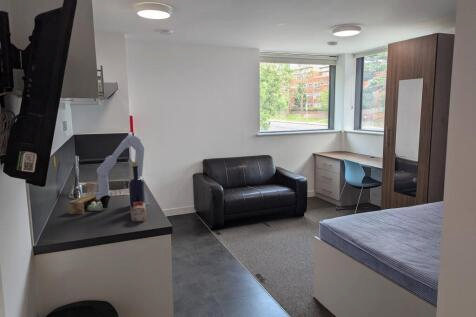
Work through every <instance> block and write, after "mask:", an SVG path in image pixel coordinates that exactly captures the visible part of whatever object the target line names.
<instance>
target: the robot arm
mask: <svg viewBox="0 0 476 317" xmlns="http://www.w3.org/2000/svg"><path fill="white" fill-rule="evenodd" d="M131 147H132V148H133V150H134V151H135V154H134V162H137V166H138V178H139V179H141V180H142V181H143V182H144V179H143V172H144V171H143V168H144V155H145V147H144V145H143V143H142V141H141V139H140V138H139V137H138V136H137V135H134V134H133V135H132V134H128V135H127V136H126V137H125V138H124V139H123V140H122V141H121V142H120V143H119V145H118V146H117V148H116V149H115V150H114V152H112V155H111V154H110V155H108V156H106V157H104V158H105V160H104V161H103V162H102V163H100V166H99V167H97V168H96V173H97V181H98V182H97V183H98V193H97V194H98V195H97V196H96V199H99V200H100V202H101V203H102V206H103V208H106V209H108V206H109V202H110V199H111V194H113V190H110V186H109V183H110V182H109V176H108V175H109V173H110V170H111V169H112V168H113V167H114V166H115V164H116V163H117V159H118V157H120V155H121V154H122V153H123V152H124V151H125V150H126V149H128V148H131ZM132 179H134V177H133V176H132ZM144 194H145V204H146V206H147V205H150V203H149V197H148V196H149V195H148V193H147V192H146V191H144Z"/></svg>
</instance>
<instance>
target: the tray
mask: <svg viewBox="0 0 476 317" xmlns="http://www.w3.org/2000/svg"><path fill="white" fill-rule="evenodd" d="M86 207H87V211H94V212H95V211H97V212H103V211H104V210H106V209H107V208H103V206H102V204H101V202H97V204H96V202H91V205H88V206H86Z"/></svg>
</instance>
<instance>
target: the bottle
mask: <svg viewBox="0 0 476 317" xmlns="http://www.w3.org/2000/svg"><path fill="white" fill-rule="evenodd" d="M131 168H132V173H133V174H132V175H133V176H132V179H130V180H129V182H128V183H127V184H128V196H129V210H130V212H129V213H130V214H131V207H132V209H133V206H134V203H135V202H139V201H140V202H144V203H145V194H144V192H145V183H144V180H143V181H142V180H141V179H139V178H138V166H137V162H135V161H132V166H131ZM133 177H134V179H133Z"/></svg>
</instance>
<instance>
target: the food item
mask: <svg viewBox="0 0 476 317" xmlns="http://www.w3.org/2000/svg"><path fill="white" fill-rule="evenodd" d="M130 217H131V221H132V222H134V223H144V222H145V221H146V218H147V205H146V204H145V203H144V202H140V201H139V202H135V203H134V206H133V209H132V207H131V213H130Z"/></svg>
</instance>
